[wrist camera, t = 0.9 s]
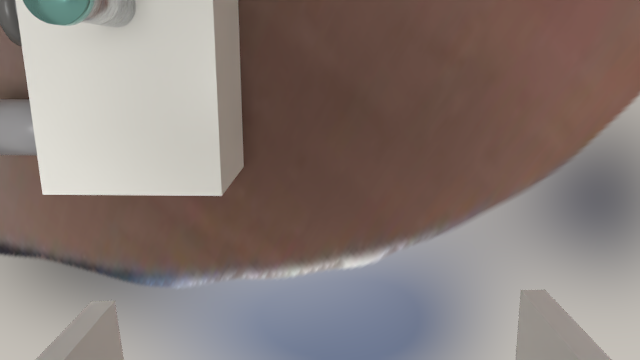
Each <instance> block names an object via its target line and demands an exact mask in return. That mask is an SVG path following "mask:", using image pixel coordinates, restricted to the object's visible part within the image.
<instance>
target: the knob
mask: <svg viewBox="0 0 640 360" xmlns="http://www.w3.org/2000/svg"><path fill="white" fill-rule="evenodd" d="M0 155H37V150H36V143H35V136H34V129H33V122H32V115H31V108H30V100H29V99H0Z"/></svg>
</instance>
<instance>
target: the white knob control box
mask: <svg viewBox="0 0 640 360" xmlns="http://www.w3.org/2000/svg"><path fill="white" fill-rule="evenodd" d="M135 4H136V11H135V15H134V17H133V19H132V20H131V21H130V22H129V23H128V24H127V25H125V26H123V27H117V28H116V27H108V26H102V25H96V24H89V23H83V22H80V23H78V24H75V25H71V26H61V25H53V24H49V23H46V22H43V21H41V20H39V19H38V18H36V17H35V16H34V15H33V14H32V13H31V12H30V11H29V10H28V9H27V7H26V6H25V4H24V2H23V0H0V24H1V26H2V28H3V30H4V32H5V33H6V35H7V36H8V37H9V39H10V40H11V41H12V42H14V43H15V44H17V45H19V46H22V51H23V58H24V65H25V72H26V79H27V86H28V93H29V100H30V108H31V115H32V122H33V129H34V136H35V143H36V150H37V157H38V164H39V172H40V179H41V186H42V193H43V195H171V196H222V195H223V194H224V192H225V191H226V190H227V188H228V187H229V186H230V184H231V183H232V182H233V180H234V179H235V178H236V176H237V175H238V174H239V172H240V171H241V170H242V168H243V167H244V160H243V130H242V101H241V72H240V42H239V13H238V0H135Z"/></svg>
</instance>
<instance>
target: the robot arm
mask: <svg viewBox="0 0 640 360" xmlns="http://www.w3.org/2000/svg"><path fill="white" fill-rule="evenodd" d="M36 360H124V358H123V352H122V345H121V339H120V332H119V326H118V319H117V312H116V305H115V301H92V302H91V303H90V304H89V305H88V306H87V307H86V308H85V309H84V310H83V311H82V312H81V313H80V314H79V315H78V316H77V317H76V318H75V319H74V320H73V321H72V323H70V324H69V325H68V326H67V328H65V330H64V331H63V332H62V333H61V334H60V335H59V336H58V337H57V338H56V339H55V340H54V341H53V342H52V343H51V344H50V345H49V346H48V347H47V348H46V350H45V351H43V352H42V354H41V355H40V356H39V357H38V358H37V359H36ZM516 360H611V359H610V358H609V357H608V356H607V354H606V353H604V351H603V350H602V349H601V348H600V347H599V346H598V345H597V344H596V343H595V342H594V341H593V340H592V339H591V338H590V337H589V336H588V335H587V333H586V332H585V331H584V330H583V329H582V328H581V327H580V326H579V325H578V324H577V323H576V322H575V321H574V320H573V319H572V318H571V317H570V316H569V315H568V313H567V312H565V310H564V309H563V308H562V307H561V306H560V305H559V304H558V303H557V302H556V301H555V300H554V299H553V298H552V297H551V296H550V295H549V294H548V293H547V291H546V290H521V296H520V308H519V321H518V335H517V348H516Z"/></svg>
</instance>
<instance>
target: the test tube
mask: <svg viewBox="0 0 640 360" xmlns="http://www.w3.org/2000/svg"><path fill="white" fill-rule="evenodd" d="M23 2H24V4H25V6H26V7H27V9H28V10H29V11H30V12H31V13H32V14H33V15H34V16H35V17H36V18H38V19H39V20H41V21H43V22H46V23H49V24H53V25H61V26H71V25H75V24H78V23H80V22H83V23H89V24H96V25H102V26H108V27H116V28H117V27H123V26H125V25H127V24H128V23H129V22H130V21H131V20H132V19H133V17H134V15H135V11H136V4H135V0H23Z"/></svg>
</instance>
